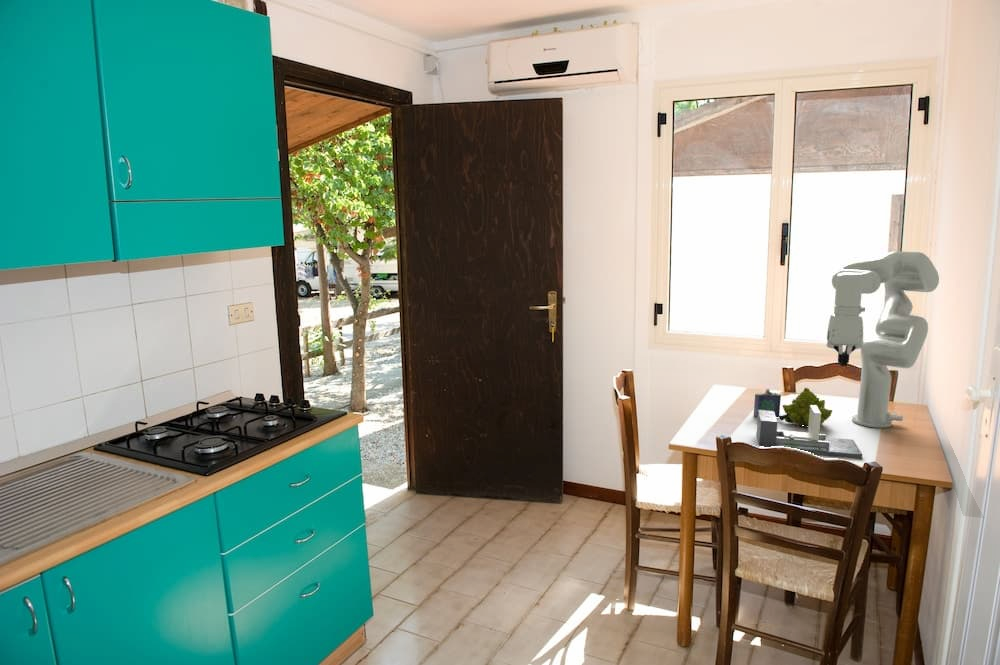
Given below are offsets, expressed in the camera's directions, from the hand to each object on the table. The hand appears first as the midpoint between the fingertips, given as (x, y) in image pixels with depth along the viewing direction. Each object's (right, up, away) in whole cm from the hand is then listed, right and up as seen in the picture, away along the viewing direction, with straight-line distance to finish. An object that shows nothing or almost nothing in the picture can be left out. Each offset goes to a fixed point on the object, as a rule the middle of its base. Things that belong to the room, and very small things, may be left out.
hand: (842, 364), depth 219 cm
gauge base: (-13, -27, -3) cm, 30 cm away
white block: (-16, -25, -3) cm, 30 cm away
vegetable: (-3, -23, +19) cm, 30 cm away
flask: (-14, -21, +29) cm, 38 cm away
